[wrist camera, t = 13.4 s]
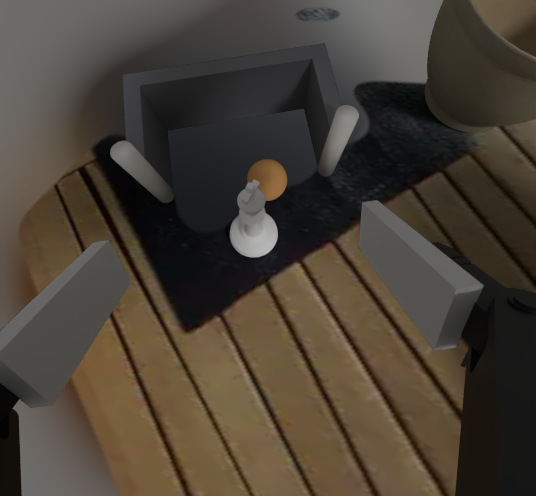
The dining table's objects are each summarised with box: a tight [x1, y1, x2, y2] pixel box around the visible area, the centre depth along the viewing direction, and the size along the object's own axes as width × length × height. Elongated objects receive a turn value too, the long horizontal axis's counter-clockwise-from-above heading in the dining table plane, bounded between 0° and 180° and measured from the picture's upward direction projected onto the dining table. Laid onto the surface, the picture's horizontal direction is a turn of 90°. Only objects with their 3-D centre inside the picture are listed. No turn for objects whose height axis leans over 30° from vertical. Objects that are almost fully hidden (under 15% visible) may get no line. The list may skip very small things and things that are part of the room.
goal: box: [110, 43, 359, 203], centre depth 24 cm, size 10×19×8 cm, turn 100°
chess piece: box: [230, 180, 278, 257], centre depth 20 cm, size 5×5×10 cm
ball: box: [247, 159, 287, 201], centre depth 24 cm, size 4×4×4 cm
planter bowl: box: [425, 0, 536, 132], centre depth 23 cm, size 16×16×11 cm
